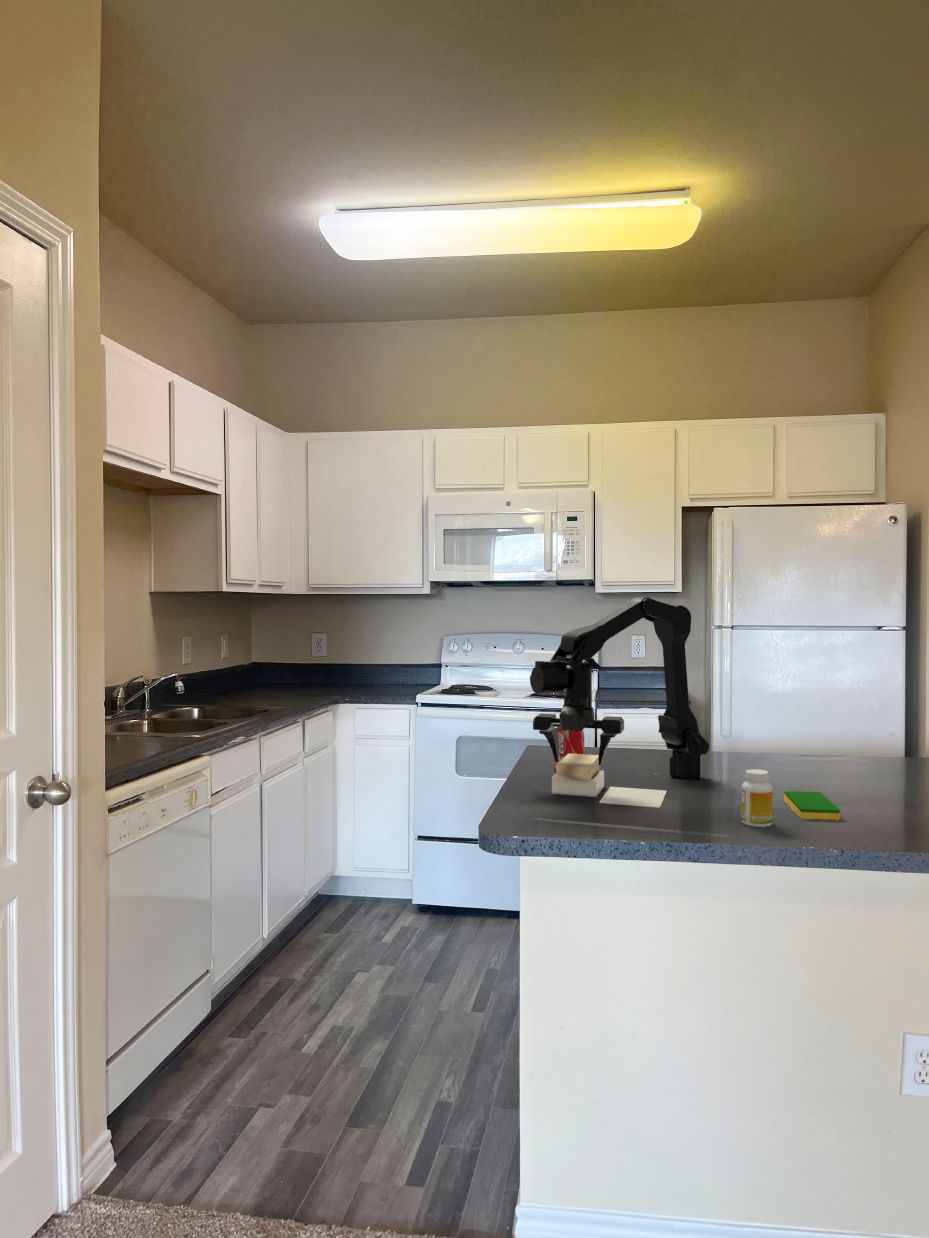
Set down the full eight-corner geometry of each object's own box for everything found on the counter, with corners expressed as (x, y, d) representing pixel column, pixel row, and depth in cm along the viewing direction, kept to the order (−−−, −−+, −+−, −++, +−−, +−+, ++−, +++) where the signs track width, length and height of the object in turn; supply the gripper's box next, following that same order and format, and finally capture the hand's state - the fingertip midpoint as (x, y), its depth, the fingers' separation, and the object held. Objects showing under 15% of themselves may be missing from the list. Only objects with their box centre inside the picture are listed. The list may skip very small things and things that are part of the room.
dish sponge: (820, 803, 169) (820, 791, 169) (840, 822, 155) (840, 810, 155) (783, 802, 170) (783, 790, 170) (800, 821, 156) (800, 808, 156)
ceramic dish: (604, 788, 181) (604, 770, 180) (596, 799, 172) (596, 780, 172) (561, 785, 184) (561, 767, 184) (551, 795, 175) (551, 776, 175)
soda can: (583, 780, 188) (583, 728, 188) (552, 779, 190) (552, 727, 189) (585, 773, 195) (585, 722, 195) (555, 772, 197) (555, 722, 196)
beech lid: (599, 768, 182) (599, 755, 182) (589, 781, 171) (589, 766, 171) (568, 766, 184) (568, 753, 184) (556, 778, 173) (556, 764, 173)
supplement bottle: (778, 824, 153) (778, 772, 152) (759, 829, 150) (760, 776, 149) (754, 817, 157) (754, 767, 157) (735, 822, 154) (735, 770, 154)
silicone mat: (666, 792, 176) (666, 790, 176) (659, 809, 163) (659, 807, 163) (610, 788, 180) (610, 786, 180) (599, 804, 167) (599, 802, 167)
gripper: (526, 694, 172) (526, 768, 173) (616, 697, 166) (616, 774, 167) (539, 687, 183) (539, 758, 183) (624, 690, 177) (624, 763, 177)
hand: (578, 763), depth 177 cm, fingers open, 9 cm apart
